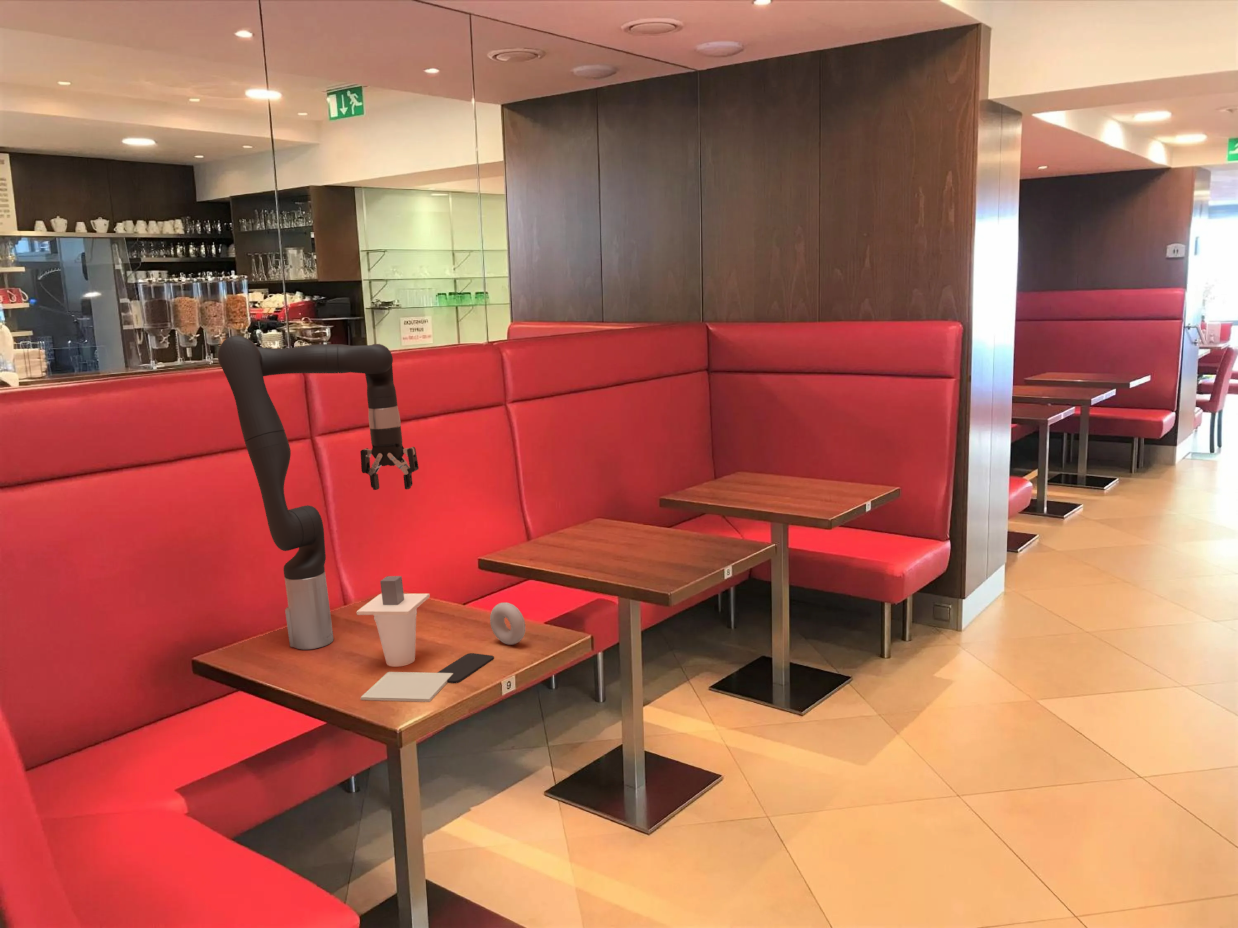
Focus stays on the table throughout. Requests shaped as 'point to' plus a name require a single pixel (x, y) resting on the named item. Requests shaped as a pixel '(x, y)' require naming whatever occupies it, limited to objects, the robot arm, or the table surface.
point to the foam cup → (397, 637)
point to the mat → (407, 686)
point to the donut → (500, 627)
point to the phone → (466, 666)
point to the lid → (393, 599)
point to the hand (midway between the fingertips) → (392, 489)
